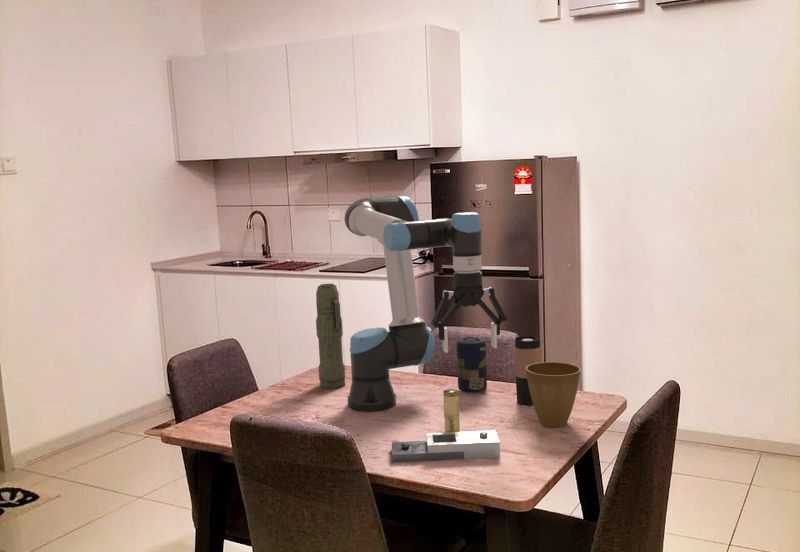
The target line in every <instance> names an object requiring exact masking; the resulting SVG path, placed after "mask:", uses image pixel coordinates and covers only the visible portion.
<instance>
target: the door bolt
mask: <svg viewBox="0 0 800 552" xmlns="http://www.w3.org/2000/svg"><path fill="white" fill-rule="evenodd" d="M425 438H426V440H415V441H414V440H413V441H412V440H411V441H392V442H391V463H408V462H410V463H411V462H427V461H428V462H429V461H430V462H431V461H433V462H434V461H451V460H452V461H453V460H454V461H455V460H472V459H474V460H475V459H493V458H496V459H497V458H498V459H499V458H501V444H500V439H499V437H498V434H497V431H496V430H495V429H493V430H492V429H490V430H489V429H488V430H471V431H470V430H468V431H466V430H465V431H460V432H445V431H444V432H428V433H427V432H426V433H425Z"/></svg>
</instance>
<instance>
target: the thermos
mask: <svg viewBox="0 0 800 552" xmlns="http://www.w3.org/2000/svg"><path fill="white" fill-rule="evenodd" d="M339 295H340V293H339V290H338V287H337V285H336V284H334V283H322V284H321V283H320V284H319V285H318V286H317V289H316V293H315V296H316V297H315V298H316V302H315V303H316V315H317V316H316V319H315V325H316V326H315V327H316V328H315V329H316V337H317V338H318V352H319V355H318V356H319V364H318V365H319V366H318V379H319V388H321V389H324V390H337V389H341V388H343V387H345V386H346V366H345V363H344V358H343V339H342V337H343V333H344V331H343V319H342V316H341V304H340V296H339Z"/></svg>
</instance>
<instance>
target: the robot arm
mask: <svg viewBox="0 0 800 552" xmlns="http://www.w3.org/2000/svg"><path fill="white" fill-rule="evenodd" d="M419 217H420V216H419V212H418V209H417V207H416V204H415V202H414V201H413V200H412V199H411V198H410V197H408V196H406V195H403V196H402V195H399V196H398V195H394V196H392V195H391V196H380V197H379V196H378V197H365V198H360V199H357V200H356V201H353V202H352V203H351V204H350V205H349V206H348V207H347V208H346V210H345V213H344V225H345V227H346V228H347V230H348V231H349V232H351V233H352V234H354V235H356V236H359V237H367V236H368V237H371V238H372V239H375V240H377V242H379V243H380V244H381V245H382V246H383V247H382V248H383V253H384V255H383V256H384V262H385V270H386V272H385V273H386V277H387V285H388V292H389V302H390V309H391V318H392V320H391V322H390V323H389V324H388V330H387V329H386V328H384V327H370V328H365V329H362V330H359V331H357V332H355V333H354V334H352V335H351V337H350V339H349V340H350V342H349V344H350V347H349V352H350V364H351V365H350V367H351V368H350V369H351V370H350V371H351V386H350V390H349V394H348V396H347V407H348V408H349V409H351V410H352V411H353V410H354V411H357V412H358V411H359V412H377V411H385V410H388V409H391V408H393V407H395V406H396V404H397V395H396V394H395V390H394V388H393V385H392V383H391V379H390V370H392V369H399V368H400V369H401V368H404V367H406V368H407V367H412V366H419V365H423V364H426V363H429V361H430V360H431V359H432V357H433V355H434V351H435V346H436V345H435V336H434V334H435V333H434V332H433V330H432V329H431V327H429V326H427V325H426V321H425V319H423V318H421V316H420V311H419V303H418V295H417V288H416V287H417V286H416V281H415V272H414V265H413V259H412V258H413V257H412V250H418V249H419V250H420V249H433V248H443V247H451V248H452V267H453V271H454V272H453V290H452V291H451V290H450V291H449V290H445V289H443V290H442V291H441V292H442V294H441V300H440V302H439V304H438V306H437V308H436V311H435V313H434V316H433V318H432V319H431V320H432V321H431V322H430V323H431V325H432V326H433V327H436V328H438V339H439V340H440V341H442V351H443V352H444V353H446V354H448V353H449V342H448V340H449V338H448V337H449V336H448V328H447V327H446V326H447V325H448V323H449V322H450V321H451V319H452V318H453V316H454V315H455V314H456V312H457V311H458V310H460V309H461V307H464V308H466V307H470V306H471V307H475V306H477V305H478V306H479V307H480V309H482V311H484V313H485V314H486V315H487V316H488V317H489V318H490V319H491V320H492V321H493V322H490V342H491V345H490V347H492V348H493V349H498V336H500V335H501V324H502V322H506V321H508V320H507V316H506V314H505V313H504V310H503V308H502V307H501V305H500V303H499V301H498V299H497V297H496V294H495V288H493V287H491V286H488V287H486V288H483V273H482V267H483V265H482V264H483V262H482V225H481V216H480V214H479V213H478V212H457V213H453V214H452V216H451V218H450V217H440V218H436V219H429V220H428V219H427V220H426V219H425V220H419ZM484 295H486V296H487V297H488V298H489V301H490V302H491V304H492V306H493V308H494V309H495V310H494V311H495V312H496V314H497V315H496V314H495V313H494V312H493V311H492V310H491V308H489V306H487V305H486V303H485V302H484V300H483V299H482V298H483V297H484ZM452 297H453V298H454V301H453V302H452V304H451V306H450V307H449V309H448V310H447V311H446V312H445V310H446V307H447V305H448V303H449V300H451V299H452ZM444 312H445V314H444ZM443 314H444V315H443Z"/></svg>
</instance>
